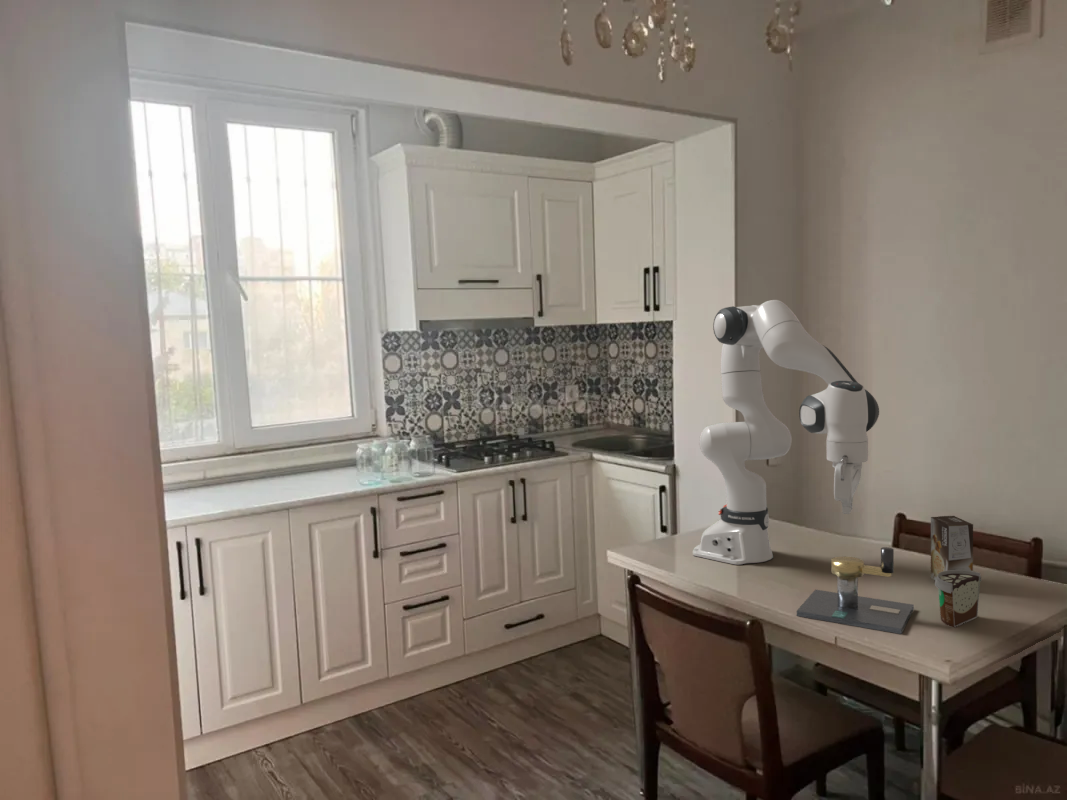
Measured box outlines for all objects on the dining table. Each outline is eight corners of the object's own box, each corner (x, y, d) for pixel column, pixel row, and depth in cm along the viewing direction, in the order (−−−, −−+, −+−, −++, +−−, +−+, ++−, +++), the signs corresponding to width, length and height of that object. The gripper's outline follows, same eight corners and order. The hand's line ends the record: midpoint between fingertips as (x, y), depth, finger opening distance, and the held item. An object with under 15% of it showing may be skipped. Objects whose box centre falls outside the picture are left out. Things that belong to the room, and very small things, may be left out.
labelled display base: (796, 615, 178) (796, 580, 178) (815, 594, 192) (815, 561, 191) (901, 634, 166) (901, 596, 165) (913, 609, 179) (913, 574, 178)
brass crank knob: (828, 574, 179) (827, 546, 179) (835, 566, 185) (835, 538, 184) (890, 583, 172) (890, 553, 171) (896, 574, 178) (896, 545, 177)
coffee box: (974, 588, 191) (975, 524, 189) (948, 589, 191) (948, 525, 189) (953, 576, 200) (954, 515, 198) (928, 577, 200) (929, 516, 198)
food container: (953, 607, 179) (954, 565, 178) (981, 615, 174) (981, 572, 173) (922, 620, 173) (923, 576, 172) (950, 629, 167) (950, 584, 166)
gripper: (857, 461, 167) (858, 524, 168) (865, 445, 185) (865, 503, 186) (826, 460, 170) (827, 522, 171) (837, 445, 188) (837, 501, 189)
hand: (847, 511), depth 179 cm, fingers closed
